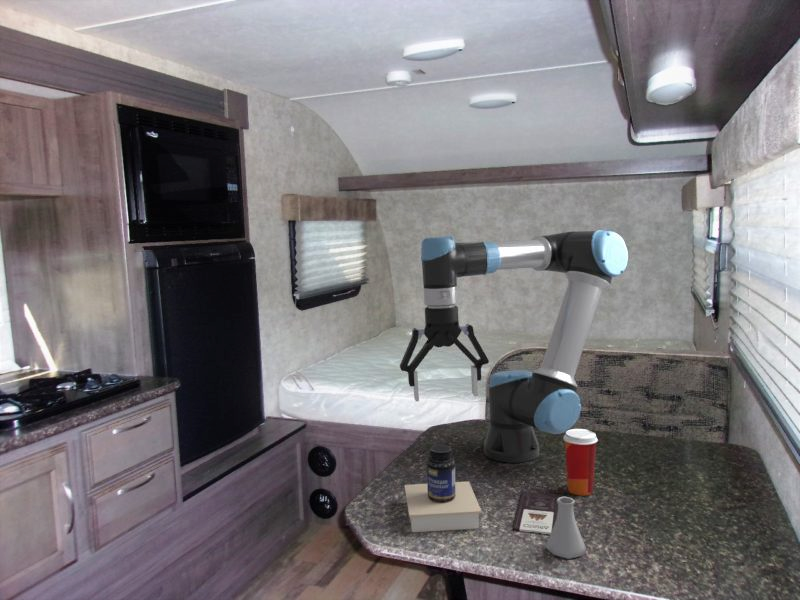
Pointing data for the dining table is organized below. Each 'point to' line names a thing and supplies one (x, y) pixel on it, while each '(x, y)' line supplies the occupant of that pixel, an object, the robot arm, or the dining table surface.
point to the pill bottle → (441, 474)
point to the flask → (566, 532)
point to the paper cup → (580, 460)
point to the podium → (442, 509)
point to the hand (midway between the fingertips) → (445, 397)
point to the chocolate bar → (536, 513)
